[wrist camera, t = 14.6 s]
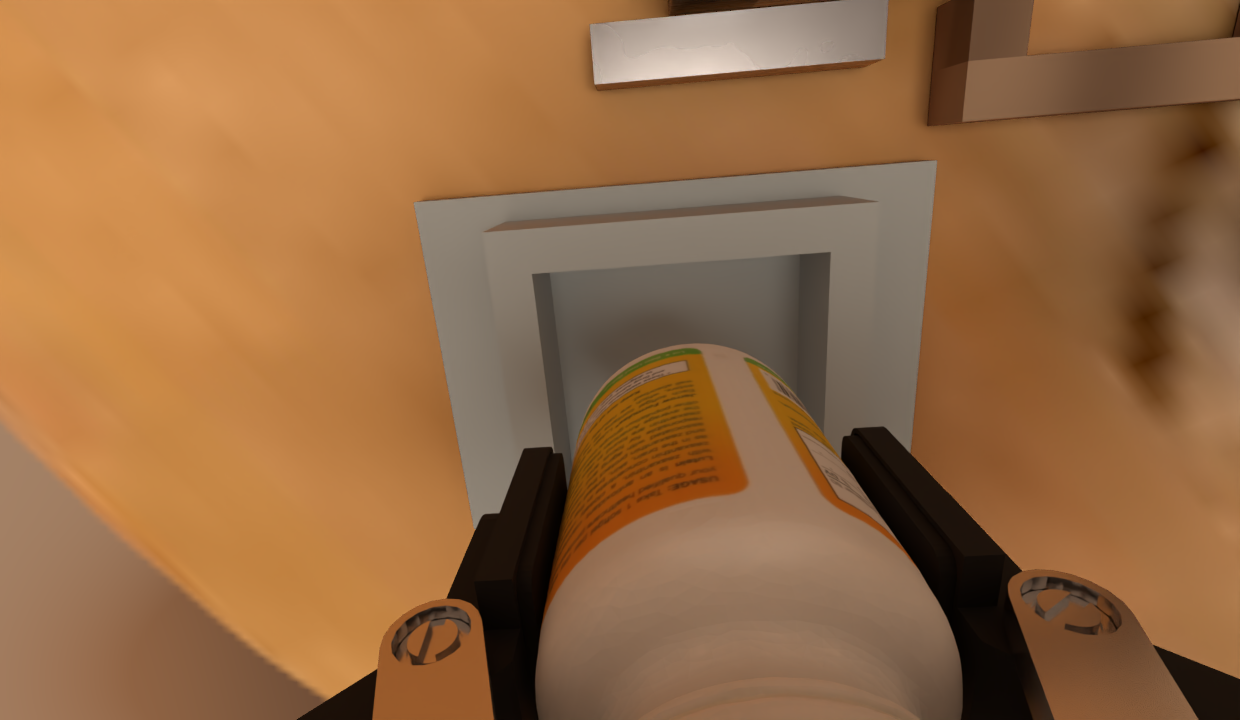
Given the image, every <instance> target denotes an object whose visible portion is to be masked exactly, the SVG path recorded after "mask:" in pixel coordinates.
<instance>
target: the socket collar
mask: <svg viewBox="0 0 1240 720" xmlns="http://www.w3.org/2000/svg"><path fill="white" fill-rule="evenodd" d="M1033 4H1034V0H951V1H949V2H947V3H945V4H943V5H941V6H939V7H938V9H937V21H936V33H935V45H934V56H933V68H932V80H931V92H930V103H929V115H928V126H935V125H947V124H959V123H971V122H983V121H995V120H1007V119H1019V118H1031V117H1043V116H1055V115H1067V114H1079V113H1091V112H1103V111H1115V110H1127V109H1139V108H1151V107H1163V106H1175V105H1187V104H1199V103H1210V102H1222V101H1234V100H1240V9H1239V13H1238V18H1237V22H1236V26H1235V31H1234V35H1233V38H1223V39H1212V40H1200V41H1189V42H1178V43H1167V44H1155V45H1144V46H1133V47H1121V48H1110V49H1099V50H1088V51H1076V52H1065V53H1054V54H1042V55H1031V56H1027V50H1028V42H1029V34H1030V27H1031V19H1032V11H1033Z"/></svg>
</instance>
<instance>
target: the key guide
mask: <svg viewBox="0 0 1240 720" xmlns="http://www.w3.org/2000/svg"><path fill="white" fill-rule="evenodd" d="M887 16H888V0H840V1H830V2H819V3H809V4H798V5H788V6H777V7H766V8H756V9H745V10H735V11H724V12H714V13H703V14H692V15H682V16H671V17H661V18H650V19H640V20H629V21H618V22H608V23H597V24H590V35H591V47H592V59H593V71H594V83H595V86H596V88H597V90H598V91H601V90H612V89H624V88H635V87H646V86H657V85H669V84H680V83H691V82H702V81H714V80H725V79H736V78H747V77H759V76H770V75H781V74H792V73H804V72H815V71H826V70H838V69H849V68H860V67H866V66H868V65H871V64H873V63H876V62H878V61H880V60H883V59H885V49H886V32H887Z"/></svg>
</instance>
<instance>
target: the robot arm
mask: <svg viewBox="0 0 1240 720" xmlns="http://www.w3.org/2000/svg"><path fill="white" fill-rule="evenodd" d="M841 460H842V461H843V463H844V464H845V465H846V467H847V468H848V469H849V471H850V472H851V473H852V475H853V476H854V478H855V479H856V481H857V482H858V484H859V485H860V487H861V488H862V490H863V491H864V493H865V494H866V495H867V497H868V498H869V500H870V501H871V503H872V504H873V506H874V507H875V509H876V510H877V511H878V513H879V514H880V516H881V517H882V519H883V520H884V521H885V523H886V524H887V525H888V527H889V528H890V530H891V531H892V533H893V534H894V535H895V537H896V538H897V540H898V541H899V543H900V544H901V546H902V547H903V548H904V550H905V551H906V552H907V554H908V555H909V556H910V558H911V559H912V561H913V562H914V564H915V565H916V566H917V568H918V569H919V571H920V573H921V574H922V576H923V578H924V579H925V581H926V583H927V585H928V586H929V588H930V590H931V591H932V593H933V594H934V596H935V597H936V599H937V601H938V602H939V604H940V606H941V608H942V610H943V612H944V614H945V616H946V617H947V620H948V622H949V625H950V627H951V630H952V632H953V635H954V638H955V641H956V645H957V648H958V652H959V656H960V662H961V669H962V684H963V707H962V715H961V720H1240V679H1238V678H1235V677H1233V676H1230V675H1228V674H1225V673H1223V672H1220V671H1218V670H1215V669H1213V668H1210V667H1208V666H1205V665H1203V664H1200V663H1198V662H1195V661H1192V660H1190V659H1187V658H1185V657H1182V656H1180V655H1177V654H1175V653H1172V652H1170V651H1167V650H1165V649H1162V648H1160V647H1157V646H1155V645H1152V643H1151V642H1150V640H1149V638H1148V637H1147V635H1146V634H1145V632H1144V630H1143V629H1142V627H1141V625H1140V624H1139V622H1138V621H1137V619H1136V617H1135V616H1134V614H1133V613H1132V612H1131V610H1130V609H1129V608H1128V607H1127V606H1126V605H1125V603H1124V602H1123V601H1121V600H1120V599H1119V598H1117V597H1116V596H1115V595H1113V594H1112V593H1111V592H1109V591H1108V590H1106V589H1104V588H1102V587H1100V586H1098V585H1097V584H1095V583H1093V582H1091V581H1088V580H1086V579H1083V578H1080V577H1077V576H1074V575H1072V574H1067V573H1063V572H1058V571H1053V570H1038V569H1035V570H1029V571H1022V570H1021V569H1020V568H1019V567H1018V566H1017V565H1016V564H1015V563H1014V562H1013V561H1012V560H1011V559H1010V558H1009V557H1008V555H1007V554H1006V553H1005V552H1004V551H1003V550H1002V549H1001V548H1000V547H999V546H998V545H997V544H996V543H995V542H994V541H993V540H992V539H991V537H990V536H989V535H988V534H987V533H986V532H985V531H984V530H983V529H982V528H981V527H980V526H979V525H978V524H977V523H976V522H975V521H974V520H973V518H972V517H971V516H970V515H969V514H968V513H967V512H966V511H965V510H964V509H963V508H962V507H961V506H960V505H959V504H958V503H957V502H956V501H955V499H954V498H953V497H952V496H951V495H950V494H949V493H947V492H946V491H945V490H944V489H943V488H942V486H941V485H940V484H939V483H938V482H937V481H936V480H935V479H934V478H933V477H932V476H931V475H930V474H929V473H928V472H927V471H926V470H925V468H924V467H923V466H922V465H921V464H920V463H919V462H918V461H917V460H916V459H915V458H914V457H913V456H912V455H911V454H910V453H909V452H908V450H907V449H906V448H905V447H904V446H903V445H902V444H901V443H900V442H899V441H898V440H897V439H896V438H895V437H894V436H893V435H892V434H891V432H890V431H889V430H888V429H887V428H885V427H884V426H880V427H864V428H854V429H853V430H852V432H851V435H850V436H844V437H843V439H842V447H841ZM567 491H568V490H567V482H566V474H565V466H564V458H563V454H562V453H554V452H553V448H552V447H535V448H524V449H523V452H522V454H521V457H520V460H519V462H518V465H517V468H516V470H515V473H514V476H513V478H512V481H511V483H510V486H509V489H508V491H507V494H506V497H505V499H504V502H503V505H502V507H501V510H500V513H491V514H484V515H482V517H481V519H480V520H479V523H478V525H477V527H476V530H475V532H474V535H473V537H472V539H471V542H470V544H469V546H468V549H467V551H466V553H465V556H464V558H463V561H462V563H461V565H460V568H459V570H458V572H457V575H456V577H455V579H454V582H453V584H452V587H451V589H450V591H449V594H448V596H447V598H446V599H441V600H435V601H430V602H428V603H425V604H422V605H419V606H417V607H415V608H413V609H412V610H410V611H408V612H407V613H405V614H403V615H402V616H401V617H400V618H399V619H398V620H396V621H395V622H394V623H393V624H392V625H391V626H390V628H389V629H388V631H387V632H386V633H385V635H384V636H383V639H382V643H381V646H380V650H379V660H378V669H377V670H375V671H373V672H372V673H370V674H369V675H367V676H365V677H364V678H362V679H361V680H359V681H357V682H356V683H354V684H353V685H351V686H349V687H348V688H346V689H345V690H343V691H341V692H340V693H338V694H337V695H335V696H333V697H332V698H330V699H329V700H327V701H325V702H324V703H322V704H321V705H319V706H317V707H316V708H314V709H313V710H311V711H309V712H308V713H306V714H305V715H303V716H302V717H300V718H298V719H297V720H539V718H538V713H537V706H536V692H535V674H536V663H537V657H538V647H539V638H540V631H541V625H542V620H543V614H544V608H545V603H546V598H547V592H548V588H549V581H550V576H551V571H552V563H553V560H554V555H555V551H556V545H557V540H558V536H559V530H560V525H561V521H562V516H563V512H564V506H565V501H566V496H567Z"/></svg>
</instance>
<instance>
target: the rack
mask: <svg viewBox="0 0 1240 720" xmlns="http://www.w3.org/2000/svg"><path fill="white" fill-rule="evenodd" d="M936 168H937V160H924V161H912V162H899V163H887V164H875V165H862V166H850V167H837V168H825V169H812V170H800V171H788V172H775V173H763V174H750V175H738V176H725V177H713V178H701V179H688V180H676V181H663V182H651V183H639V184H626V185H614V186H601V187H589V188H576V189H564V190H552V191H539V192H527V193H514V194H502V195H489V196H477V197H465V198H452V199H440V200H427V201H419V202H414V207H415V212H416V218H417V223H418V229H419V234H420V239H421V245H422V250H423V256H424V261H425V266H426V272H427V277H428V283H429V288H430V293H431V299H432V304H433V310H434V315H435V320H436V326H437V331H438V337H439V342H440V347H441V353H442V358H443V364H444V369H445V374H446V380H447V385H448V391H449V396H450V401H451V407H452V412H453V417H454V423H455V428H456V434H457V439H458V444H459V450H460V455H461V461H462V466H463V471H464V477H465V482H466V488H467V493H468V498H469V504H470V509H471V515H472V520H473V525H474V529H476V527H477V525H478V523H479V520H480V519H481V517H482V515H484V514H491V513H500V510H501V507H502V505H503V502H504V499H505V497H506V494H507V491H508V489H509V486H510V483H511V481H512V478H513V476H514V473H515V470H516V468H517V465H518V462H519V460H520V457H521V454H522V452H523V449H524V448H535V447H552V448H553V452H554V453H562V454H563V458H564V466H565V474H566V482H567V490H568V486H569V481H570V475H571V471H572V465H573V458H574V453H575V448H576V443H577V438H578V435H579V431H580V428H581V425H582V421H583V419H584V416H585V414H586V411H587V409H588V407H589V405H590V403H591V402H592V400H593V398H594V397H595V395H596V394H597V392H598V391H599V390H600V388H601V387H602V386H603V384H604V383H605V382H606V381H607V380H608V379H609V378H610V377H611V376H612V375H613V374H615V373H616V372H617V371H618V370H619V369H621V368H622V367H623V366H625V365H626V364H628V363H629V362H631V361H633V360H635V359H637V358H639V357H641V356H643V355H645V354H647V353H650V352H653V351H655V350H659V349H662V348H666V347H670V346H675V345H681V344H694V343H698V344H714V345H719V346H724V347H728V348H732V349H736V350H738V351H741V352H743V353H746V354H748V355H750V356H752V357H754V358H756V359H757V360H759V361H761V362H762V363H764V364H765V365H767V366H768V367H769V368H771V369H772V370H773V371H774V372H775V373H776V374H778V375H779V376H780V377H781V378H782V379H783V380H784V381H785V383H786V384H787V385H788V386H789V387H790V388H791V390H792V391H793V392H794V393H795V395H796V396H797V397H798V398H799V400H800V401H801V402H802V404H803V405H804V407H805V408H806V410H807V411H808V413H809V414H810V416H811V417H812V419H813V420H814V421H815V423H816V424H817V426H818V427H819V428H820V430H821V431H822V433H823V434H824V436H825V437H826V439H827V440H828V441H829V443H830V444H831V446H832V447H833V448H834V450H835V451H836V453H837V454H838V456H839V457H840V459H841V447H842V439H843V437H844V436H850V435H851V432H852V430H853V429H854V428H864V427H880V426H884V427H885V428H887V429H888V430H889V431H890V432H891V434H892V435H893V436H894V437H895V438H896V439H897V440H898V441H899V442H900V443H901V444H902V445H903V446H904V447H905V448H906V449H907V450H908V452H909V453H911V442H912V431H913V420H914V409H915V398H916V387H917V376H918V365H919V354H920V343H921V332H922V322H923V311H924V300H925V289H926V278H927V267H928V256H929V245H930V234H931V223H932V212H933V201H934V190H935V179H936Z"/></svg>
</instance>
